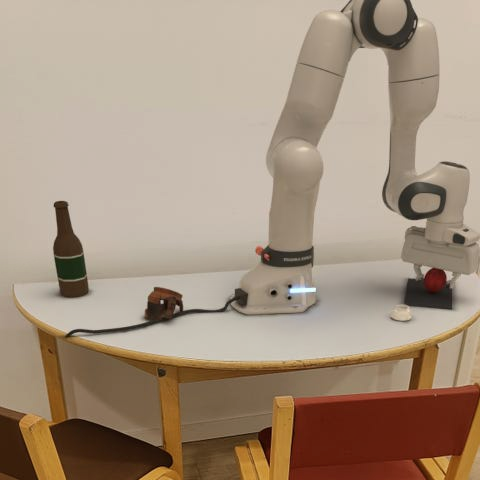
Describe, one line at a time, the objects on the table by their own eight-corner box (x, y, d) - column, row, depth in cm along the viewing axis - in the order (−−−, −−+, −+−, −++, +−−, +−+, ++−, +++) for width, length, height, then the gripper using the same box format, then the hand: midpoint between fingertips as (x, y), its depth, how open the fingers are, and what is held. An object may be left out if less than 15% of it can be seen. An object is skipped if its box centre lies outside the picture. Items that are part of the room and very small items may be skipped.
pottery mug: (136, 316, 150) (145, 284, 150) (170, 326, 155) (178, 295, 155) (154, 319, 140) (163, 285, 140) (189, 330, 145) (198, 297, 145)
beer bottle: (54, 295, 163) (38, 203, 150) (71, 287, 169) (57, 197, 156) (78, 299, 160) (63, 205, 148) (95, 290, 166) (82, 199, 154)
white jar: (391, 313, 149) (389, 320, 145) (393, 302, 148) (390, 309, 144) (412, 315, 148) (410, 323, 144) (414, 304, 146) (411, 311, 142)
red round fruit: (446, 297, 158) (451, 267, 154) (424, 297, 158) (429, 267, 154) (440, 289, 163) (445, 260, 159) (419, 289, 163) (423, 260, 159)
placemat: (452, 309, 151) (452, 308, 151) (403, 305, 154) (403, 304, 154) (451, 282, 169) (452, 281, 169) (408, 279, 172) (408, 278, 172)
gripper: (400, 227, 156) (393, 278, 164) (475, 240, 144) (465, 295, 152) (412, 222, 160) (405, 273, 167) (486, 235, 148) (475, 289, 156)
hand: (434, 284), depth 159 cm, fingers open, 7 cm apart
